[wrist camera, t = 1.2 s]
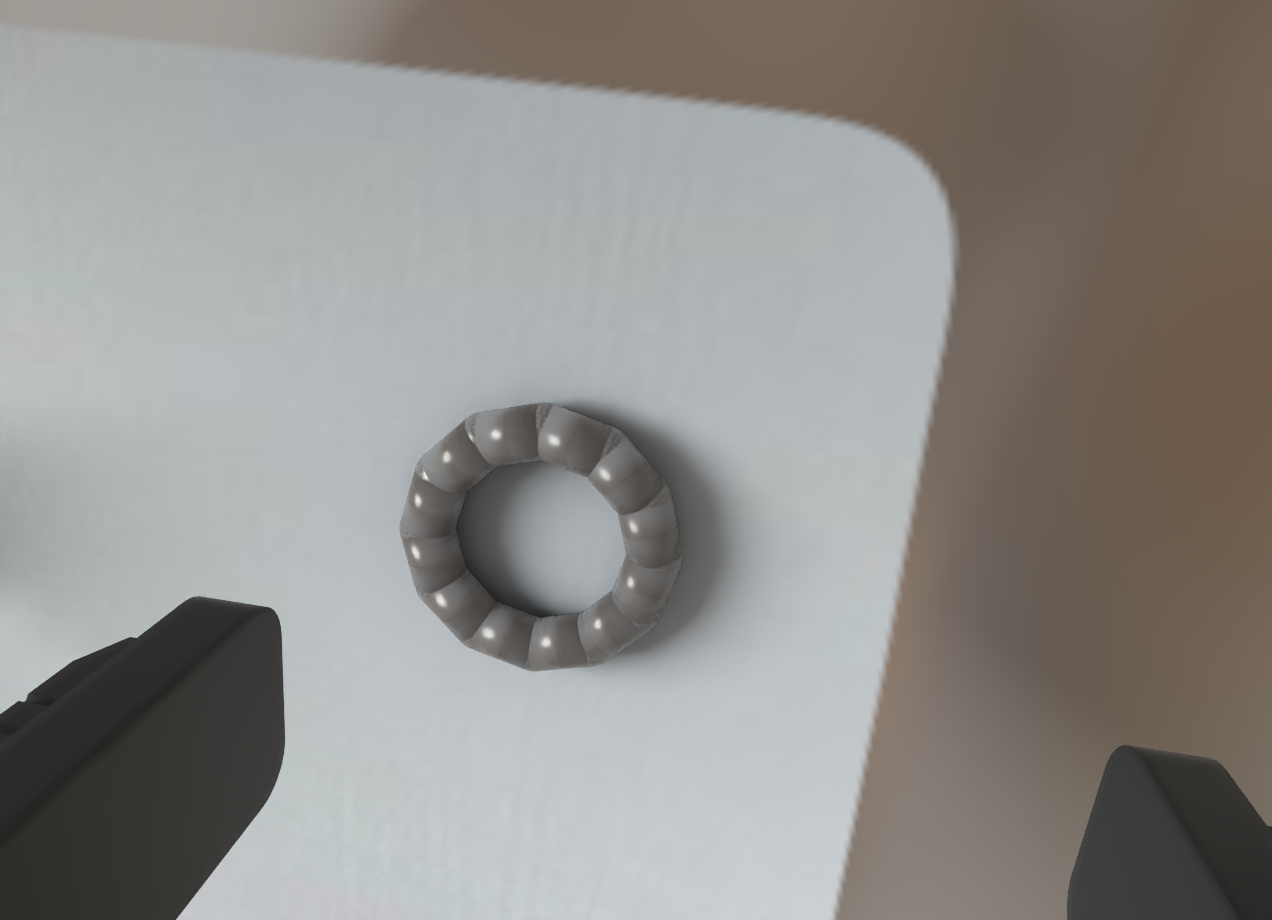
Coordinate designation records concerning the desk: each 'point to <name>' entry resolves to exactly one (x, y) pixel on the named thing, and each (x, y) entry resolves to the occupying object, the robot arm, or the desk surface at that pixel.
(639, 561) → the grey beaded ring
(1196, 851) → the robot arm
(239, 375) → the desk surface
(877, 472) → the desk surface
